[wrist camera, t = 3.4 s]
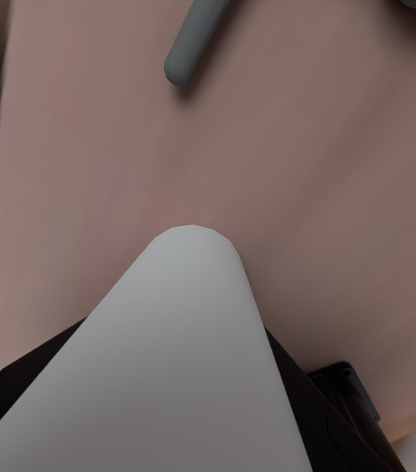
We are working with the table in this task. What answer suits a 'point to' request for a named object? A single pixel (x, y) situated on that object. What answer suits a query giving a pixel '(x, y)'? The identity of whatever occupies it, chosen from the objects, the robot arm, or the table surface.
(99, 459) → the white cup
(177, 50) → the walkie-talkie
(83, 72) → the table surface
